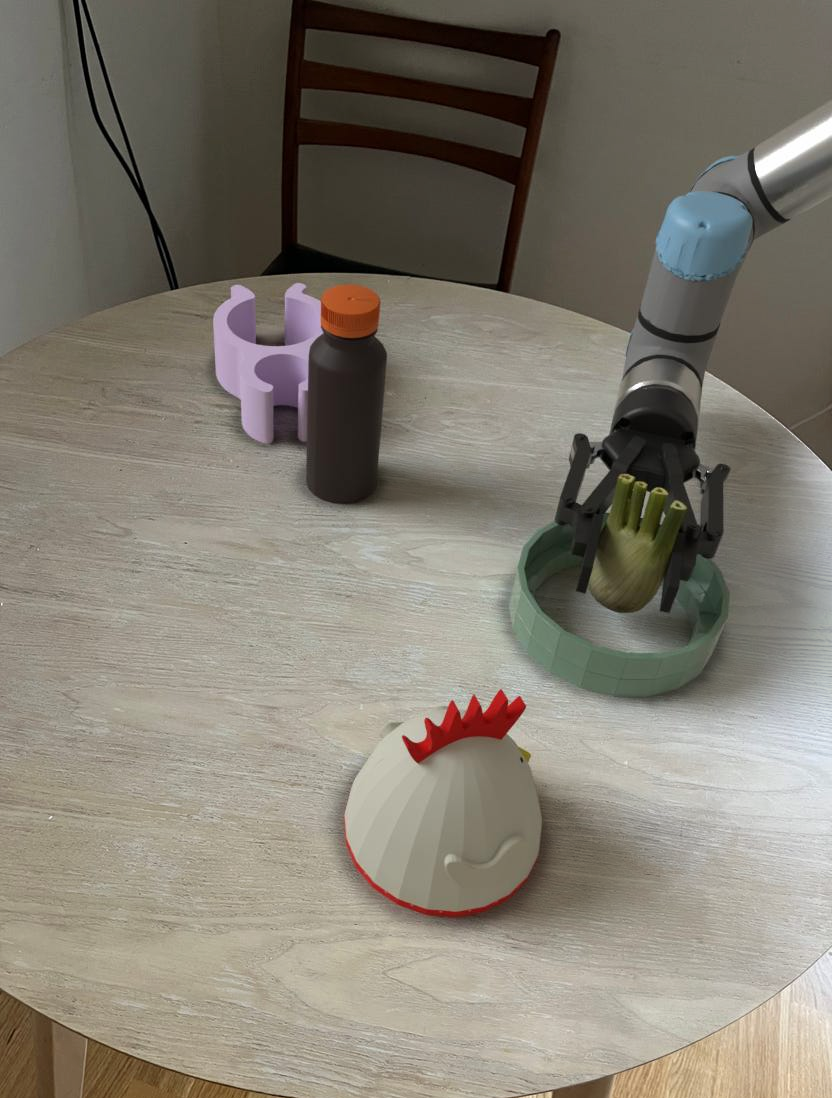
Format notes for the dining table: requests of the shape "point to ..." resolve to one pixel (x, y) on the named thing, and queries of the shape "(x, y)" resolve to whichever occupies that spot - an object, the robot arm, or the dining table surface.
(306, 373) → the clip
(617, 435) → the robot arm
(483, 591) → the dining table surface
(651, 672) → the green faceted ring
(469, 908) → the kitchen timer
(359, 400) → the bottle
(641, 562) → the fennel bulb
